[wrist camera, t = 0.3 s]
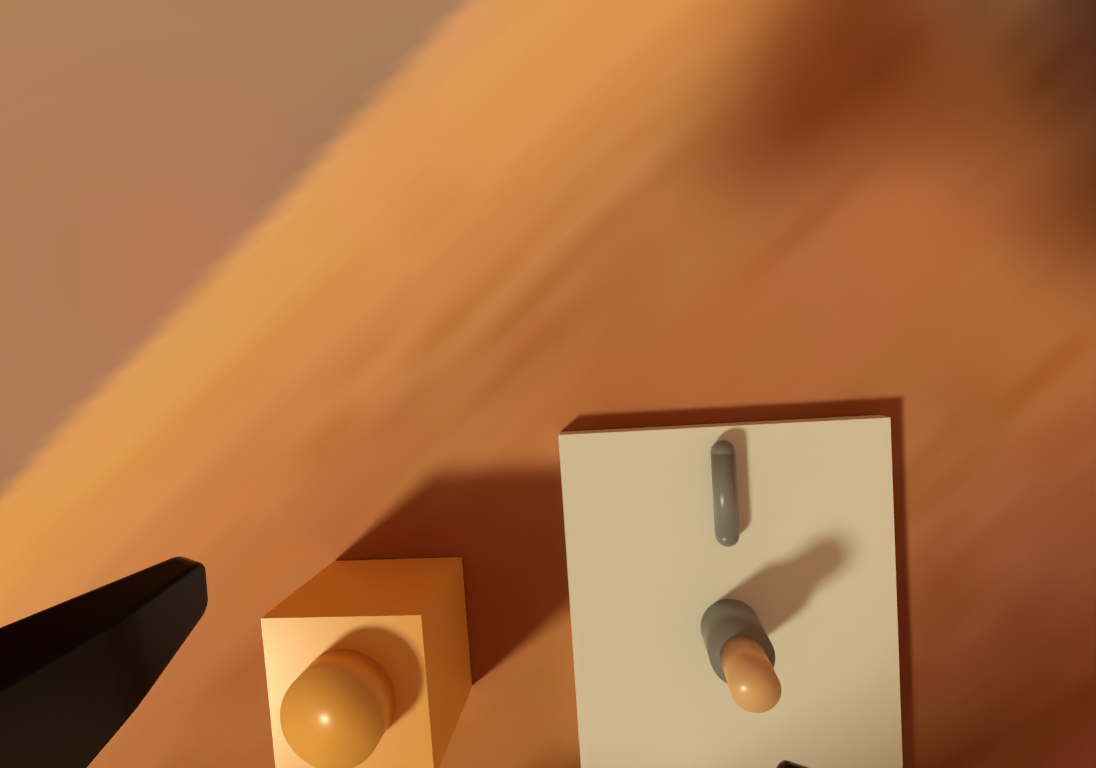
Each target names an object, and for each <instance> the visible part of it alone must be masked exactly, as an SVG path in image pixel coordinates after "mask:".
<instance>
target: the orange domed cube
mask: <svg viewBox="0 0 1096 768" xmlns="http://www.w3.org/2000/svg"><path fill="white" fill-rule="evenodd" d="M261 626H262V636H263V646H264V656H265V666H266V676H267V686H268V696H269V706H270V716H271V726H272V736H273V746H274V756H275V766H276V768H439V766H440V764H441V761H442V759H443V756H444V754H445V751H446V749H447V747H448V744H449V742H450V739H451V737H452V734H453V732H454V729H455V727H456V725H457V722H458V720H459V717H460V715H461V712H462V710H463V707H464V705H465V702H466V700H467V698H468V695H469V693H470V690H471V688H472V678H471V665H470V653H469V640H468V627H467V615H466V602H465V589H464V576H463V564H462V557H442V558H410V559H379V560H347V561H334V562H332V563H331V564H330V565H328V566H327V567H326V568H325V569H323V570H322V571H321V572H320V573H318V574H317V575H316V576H314V577H313V578H312V579H311V580H309V581H308V582H307V583H305V584H304V585H303V586H302V587H300V588H299V589H298V590H297V591H295V592H294V593H293V594H291V595H290V596H289V597H288V598H286V599H285V600H284V601H283V602H281V603H280V604H279V605H277V606H276V607H275V608H274V609H272V610H271V611H270V612H268V613H267V614H266V615H265V616H263V617H262V618H261Z"/></svg>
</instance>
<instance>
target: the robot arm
mask: <svg viewBox="0 0 1096 768" xmlns="http://www.w3.org/2000/svg"><path fill="white" fill-rule="evenodd" d="M207 602H208V596H207V584H206V571H205V567H204V566H203V564H201V563H200V562H197V561H194V560H191V559H188V558H185V557H174V558H171V559H169V560H166V561H164V562H161V563H159V564H156V565H154V566H151V567H149V568H146V569H144V570H141V571H139V572H137V573H134V574H132V575H129V576H127V577H124V578H122V579H119V580H117V581H114V582H112V583H109V584H107V585H105V586H102V587H100V588H97V589H95V590H92V591H90V592H87V593H85V594H82V595H80V596H77V597H75V598H73V599H70V600H68V601H65V602H63V603H60V604H58V605H55V606H53V607H50V608H48V609H45V610H43V611H41V612H38V613H36V614H33V615H31V616H28V617H26V618H23V619H21V620H18V621H16V622H13V623H11V624H8V625H6V626H4V627H1V628H0V768H86V767H87V766H88V765H89V764H90V763H91V762H92V760H93V759H94V758H95V757H96V756H97V755H98V753H99V752H100V751H101V750H102V749H103V747H104V746H105V745H106V744H107V743H108V742H109V740H110V739H111V738H112V737H113V736H114V735H115V733H116V732H117V731H118V730H119V729H120V727H121V726H122V725H123V724H124V723H125V722H126V720H127V719H128V718H129V717H130V715H131V714H132V713H133V712H134V711H135V709H136V708H137V707H138V705H139V704H140V703H141V701H142V700H143V699H144V697H145V696H146V695H147V693H148V692H149V691H150V689H151V688H152V686H153V685H154V684H155V682H156V681H157V679H158V678H159V676H160V675H161V674H162V672H163V671H164V669H165V668H166V667H167V665H168V664H169V662H170V661H171V660H172V658H173V657H174V655H175V654H176V652H177V651H178V650H179V648H180V647H181V645H182V644H183V643H184V641H185V640H186V638H187V637H188V635H189V634H190V633H191V631H192V630H193V628H194V627H195V626H196V624H197V623H198V621H199V620H200V619H201V617H202V615H203V614H204V612H205V609H206V606H207ZM776 768H808V767H806V766H803V765H800V764H797V763H794V762H791V761H788V760H783V761H781V762H780V763H779V764H778V766H777V767H776Z"/></svg>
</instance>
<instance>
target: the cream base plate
mask: <svg viewBox="0 0 1096 768" xmlns="http://www.w3.org/2000/svg"><path fill="white" fill-rule="evenodd" d="M558 437H559V452H560V467H561V481H562V496H563V511H564V525H565V540H566V555H567V569H568V584H569V599H570V613H571V628H572V643H573V657H574V672H575V687H576V701H577V716H578V731H579V745H580V760H581V768H776V767H777V766H778V764H779V763H780V762H781V761H783V760H788V761H791V762H794V763H797V764H800V765H803V766H806V767H808V768H903V759H902V730H901V702H900V674H899V645H898V617H897V589H896V561H895V532H894V504H893V476H892V448H891V419H890V417H887V416H883V415H865V416H846V417H827V418H809V419H790V420H771V421H753V422H734V423H715V424H697V425H678V426H659V427H641V428H622V429H603V430H585V431H566V432H560V433H559V435H558Z"/></svg>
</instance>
